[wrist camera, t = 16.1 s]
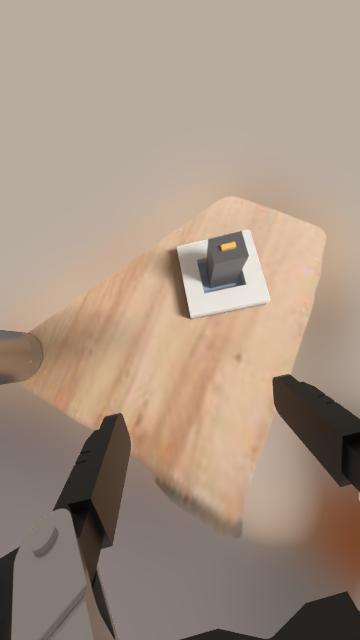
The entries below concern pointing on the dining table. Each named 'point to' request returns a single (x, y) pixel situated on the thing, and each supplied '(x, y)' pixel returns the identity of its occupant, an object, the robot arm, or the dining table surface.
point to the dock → (222, 298)
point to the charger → (225, 259)
